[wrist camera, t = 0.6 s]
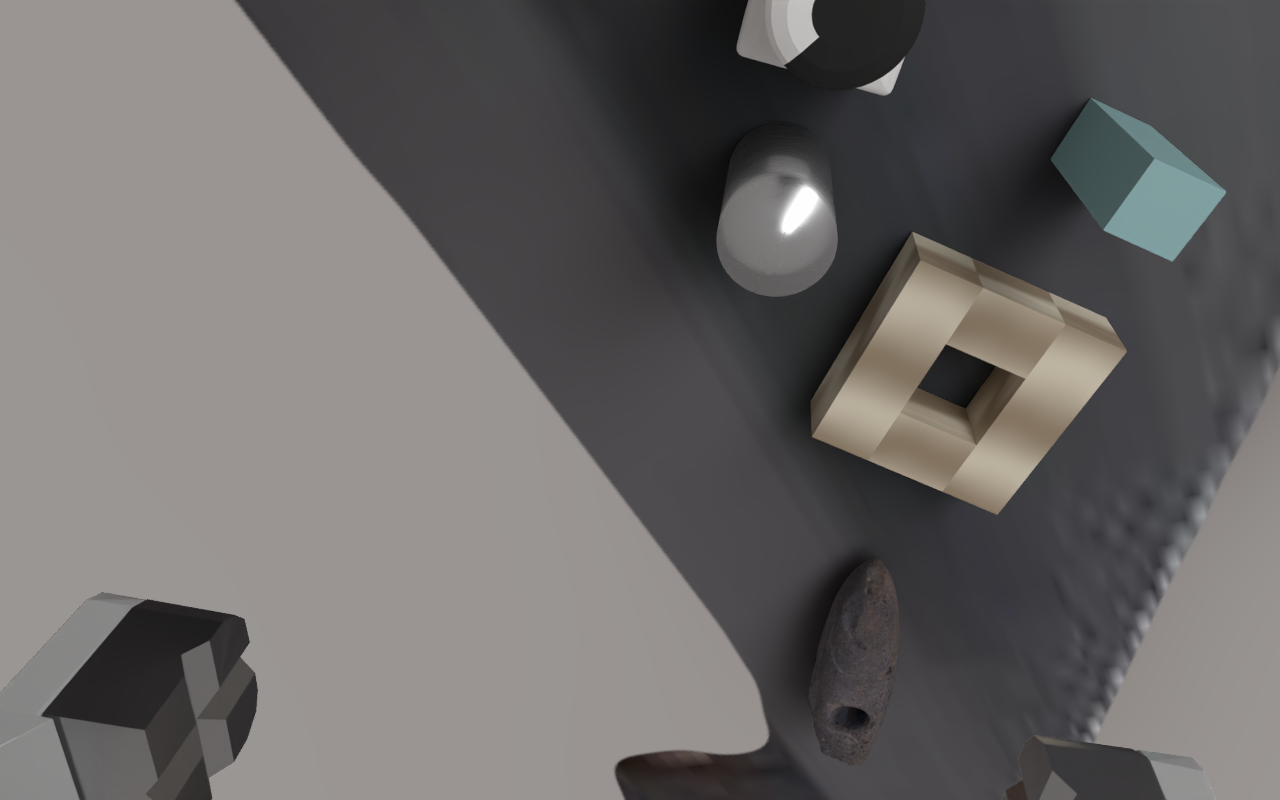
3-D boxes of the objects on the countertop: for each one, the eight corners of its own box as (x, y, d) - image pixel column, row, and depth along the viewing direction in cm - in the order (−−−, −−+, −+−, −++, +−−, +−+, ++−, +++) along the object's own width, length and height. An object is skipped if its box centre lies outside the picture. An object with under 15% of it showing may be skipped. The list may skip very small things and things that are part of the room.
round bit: (754, 104, 50) (747, 163, 42) (848, 146, 51) (859, 213, 42) (712, 196, 53) (697, 268, 45) (801, 235, 54) (803, 314, 45)
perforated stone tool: (838, 531, 64) (843, 603, 58) (919, 543, 64) (932, 618, 58) (798, 688, 72) (798, 766, 66) (869, 700, 72) (876, 779, 66)
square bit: (1090, 97, 48) (1154, 158, 40) (1150, 125, 48) (1226, 191, 40) (1050, 159, 50) (1103, 230, 41) (1108, 185, 50) (1172, 261, 42)
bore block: (912, 231, 53) (920, 260, 49) (1105, 317, 54) (1127, 351, 50) (810, 400, 59) (811, 436, 56) (985, 475, 60) (997, 514, 57)
